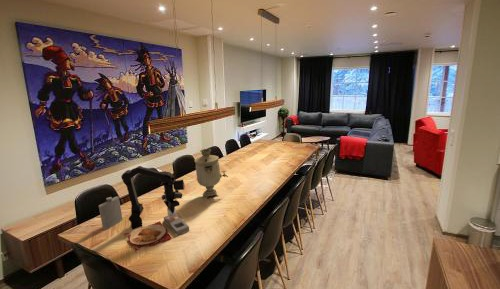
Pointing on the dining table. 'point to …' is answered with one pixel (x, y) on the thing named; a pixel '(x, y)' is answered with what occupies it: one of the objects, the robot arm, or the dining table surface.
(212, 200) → the dining table surface
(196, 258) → the dining table surface
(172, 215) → the aluminium block
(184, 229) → the parts holder
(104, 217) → the hip flask
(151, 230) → the plate with food
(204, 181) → the samovar
